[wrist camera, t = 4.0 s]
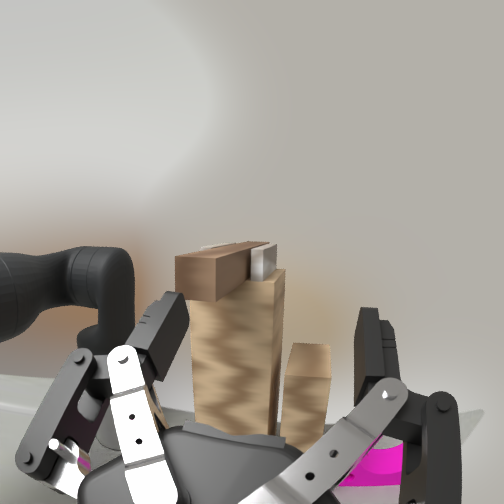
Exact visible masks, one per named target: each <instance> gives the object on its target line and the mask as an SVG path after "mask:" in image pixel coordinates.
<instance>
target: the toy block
mask: <svg viewBox="0 0 504 504" xmlns="http://www.w3.org/2000/svg"><path fill="white" fill-rule="evenodd" d="M402 456H403V443H402V444H400V445H398V446H396V447H393V448H389V449H373V448H372V449H371V450H370V451H369V452H368V454H367V455H366V456H365V457H364V458H363V459H362V460H361V461H360V463H359V464H358V465H357V466H356V467H355V468H354V469H353V471H352V472H351V473H350V474H349V475H348V476H347V477H346V478H345V479H344V480H343V481H342V482H341V483H340V484H339V485H338V486H385V485H401V472H402Z"/></svg>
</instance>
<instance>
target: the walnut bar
mask: <svg viewBox="0 0 504 504" xmlns="http://www.w3.org/2000/svg"><path fill="white" fill-rule="evenodd" d="M266 244H269V242H249V241H247V242H243V243H237V244H232V245H227V246H223V247H218V248H213V249H208V250H203V251H198V252H194V253H188V254H183V255H179V256H175V292H179V293H183V295H184V298H185V300H194V301H205V302H215V303H216V302H217V301H218V300H220V299H221V298H223V297H224V296H225V295H227V294H228V293H230V292H231V291H232V290H234V289H235V288H237V287H238V286H239V285H241V284H242V283H244V282H245V281H246V280H248V279H249V278H250V277H251V249H254V248H257V247H260V246H263V245H266Z"/></svg>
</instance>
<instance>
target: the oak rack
mask: <svg viewBox="0 0 504 504" xmlns="http://www.w3.org/2000/svg"><path fill="white" fill-rule="evenodd" d="M232 244H236V243H222V244H216V245H211V246H205V247H201V248H200V251H203V250H208V249H213V248H218V247H223V246H227V245H232ZM276 257H277V244H266V245H263V246H260V247H257V248H254V249H251V277H250V278H249V279H248V280H246V281H245V282H244V283H242V284H241V285H239V286H238V287H237V288H235V289H234V290H232V291H231V292H230V293H228V294H227V295H225V296H224V297H223V298H221V299H220V300H218V301H217V302H216V303H215V302H205V301H194V300H190V325H191V354H192V374H193V392H194V407H195V421H196V422H198V423H202V424H207V425H210V426H212V427H214V428H217V429H219V430H221V431H223V432H225V433H228V434H230V435H234V436H236V435H252V434H265V435H272V436H276V428H277V414H278V400H279V386H280V369H281V353H282V334H283V315H284V292H285V269H276ZM330 384H331V360H330V345H326V344H325V345H324V344H307V343H306V344H305V343H293V345H292V349H291V353H290V357H289V360H288V364H287V369H286V372H285V378H284V391H283V405H282V417H281V428H280V436H281V437H286V443H287V444H289V445H292V446H294V447H296V448H298V449H299V450H301V451H302V452H303V453H305V452H306V451H307V450H308V449H309V448H310V447H312V446H313V445H314V444H315V443H316V442H317V441H318V440H319V439H320V438H321V437H322V436H323V430H324V424H325V418H326V412H327V405H328V399H329V391H330Z"/></svg>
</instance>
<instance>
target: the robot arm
mask: <svg viewBox="0 0 504 504" xmlns="http://www.w3.org/2000/svg"><path fill="white" fill-rule="evenodd" d="M134 297H135V277H134V268H133V263H132V260H131V257H130V256H129V254H128V253H127V252H126V251H125V250H124V249H121V248H116V247H115V248H114V247H91V246H83V247H76V248H72V249H68V250H64V251H61V252H56V253H52V254H47V255H41V256H32V255H25V254H19V253H0V343H1V342H4V341H6V340H9V339H12V338H14V337H16V336H18V335H20V334H21V333H23V332H24V331H25V330H26V329H27V328H29V327H30V325H31V324H32V323H33V322H34V321H35V319H36V318H37V316H38V315H39V313H41V312H42V311H44V310H47V309H50V308H54V307H60V306H68V305H75V306H84V307H89V308H95V309H98V324H97V325H93V326H90V327H87V328H85V329H83V330H82V331H80V332H79V334H78V335H77V346H78V349H76V350H74V351H73V352H72V353H71V354H70V355H69V356H68V358H67V360H66V361H65V363H64V365H63V366H62V368H61V370H60V371H59V373H58V375H57V376H56V378H55V380H54V381H53V383H52V385H51V387H50V388H49V390H48V392H47V394H46V396H45V397H44V399H43V401H42V403H41V405H40V407H39V408H38V410H37V412H36V414H35V416H34V418H33V420H32V422H31V424H30V425H29V427H28V429H27V431H26V433H25V435H24V437H23V439H22V441H21V443H20V445H19V448H18V450H17V452H16V455H15V462H16V465H17V467H18V468H19V469H20V470H21V471H22V472H24V473H25V474H27V475H28V476H30V477H32V478H33V479H35V480H37V481H38V482H40V483H42V484H43V485H45V486H47V487H49V488H50V489H52V490H54V491H56V492H58V493H60V494H68V495H70V496H72V497H74V498H76V499H77V502H78V504H340V502H339V501H338V500H337V498H336V497H335V495H334V494H333V492H332V491H333V490H334V489H335V488H336V487H337V486H338V485H339V484H340V483H341V482H342V481H343V480H344V479H345V478H346V477H347V476H348V475H349V474H350V473H351V472H352V471H353V469H354V468H355V467H356V466H357V465H358V464H359V463H360V461H361V460H362V459H363V458H364V457H365V456H366V455H367V454H368V452H369V451H370V450H371V449H372V448H373V447H374V445H375V444H376V443H377V442H378V441H379V440H380V438H381V437H382V436H383V435H385V436H389V437H392V438H395V439H399V440H402V441H403V456H402V472H401V485H400V495H399V504H461V496H462V494H461V493H462V462H461V440H460V426H459V415H458V406H457V402H456V400H455V399H454V397H453V396H452V395H451V394H449V393H447V392H443V391H439V392H435V393H433V394H432V395H430V396H429V397H427V396H424V395H420V394H417V393H414V392H412V391H410V390H408V389H407V387H406V385H405V384H404V383H403V382H402V381H401V379H400V372H399V363H398V355H397V349H396V341H395V334H394V329H393V327H392V326H391V324H390V323H389V321H388V320H379V314H378V308H368V307H361V308H360V312H359V317H358V321H357V326H356V330H355V336H354V407H355V408H354V409H353V410H352V412H351V413H350V414H349V415H348V416H346V417H343V418H341V419H340V420H339V421H338V422H337V423H336V424H335V425H334V426H333V427H332V428H331V429H330V430H328V431H327V432H326V433H325V434H324V435H323V436H322V437H321V438H320V439H319V440H318V441H317V442H316V443H315V444H314V445H313V446H312V447H310V448H309V449H308V450H307V451H306V452H305V453H303V452H302V451H301V450H299V449H298V448H296V447H294V446H292V445H289V444H287V443H286V437H281V436H272V435H265V434H252V435H236V436H234V435H230V434H228V433H225V432H223V431H221V430H219V429H217V428H214V427H212V426H210V425H207V424H202V423H198V422H193V421H189V420H186V421H185V423H184V426H175V427H171V428H169V426H168V424H167V422H166V420H165V418H164V415H163V412H162V409H161V406H160V403H159V401H158V398H157V394H156V391H155V388H154V385H153V382H154V380H157V381H162V382H163V381H164V378H165V376H166V374H167V372H168V370H169V368H170V366H171V363H172V361H173V359H174V357H175V355H176V353H177V351H178V348H179V346H180V344H181V342H182V340H183V338H184V336H185V334H186V331H187V329H188V327H189V314H188V310H187V306H186V302H185V298H184V295H183V293H179V292H171V291H167V292H165V293H164V295H163V297H162V298H161V300H160V301H155V302H153V303H152V304H151V305H150V306H148V308H147V309H146V311H145V312H144V314H143V317H141V319H140V320H139V323H137V325H136V327H135V312H134V311H135V305H134ZM81 395H82V397H81ZM80 397H81V399H80ZM79 399H80V401H79ZM78 401H79V403H78ZM95 436H96V437H97V439H98V441H99V442H100V443H101V444H102V445H104V446H105V447H108V448H111V449H115V450H122V455H120V456H118V457H117V458H115V459H113V460H111V461H110V462H108V463H106V464H104V465H102V466H101V467H99V468H97V469H95V470H93V471H91V466H90V457H89V455H88V452H89V450H90V448H91V445H92V443H93V441H94V438H95ZM90 471H91V472H90Z"/></svg>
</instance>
